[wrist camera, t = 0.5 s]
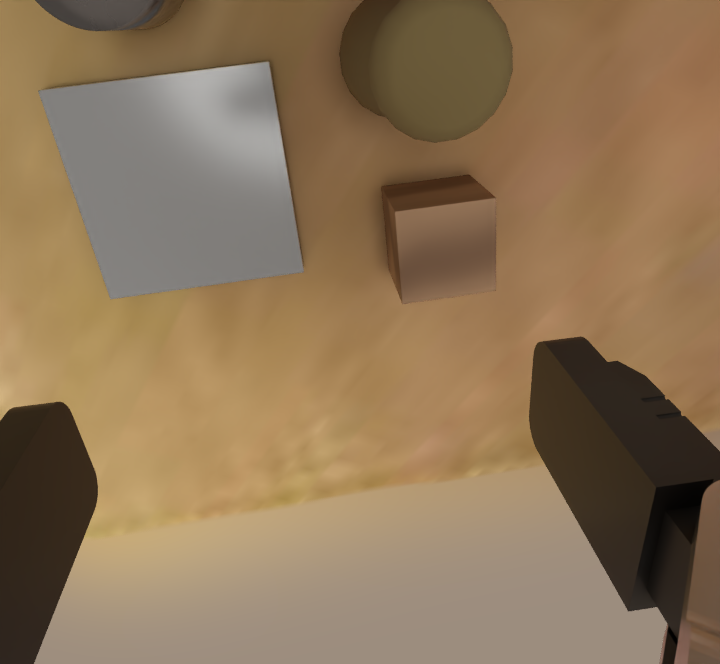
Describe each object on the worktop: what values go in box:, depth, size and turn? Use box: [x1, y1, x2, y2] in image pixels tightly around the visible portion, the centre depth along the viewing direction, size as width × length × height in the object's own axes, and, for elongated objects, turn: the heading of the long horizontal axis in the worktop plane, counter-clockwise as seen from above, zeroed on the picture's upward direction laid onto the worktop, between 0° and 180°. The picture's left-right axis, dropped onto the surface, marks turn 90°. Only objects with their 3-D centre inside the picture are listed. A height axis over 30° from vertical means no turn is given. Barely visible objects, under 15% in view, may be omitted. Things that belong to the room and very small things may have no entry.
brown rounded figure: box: [340, 0, 512, 143], centre depth 24 cm, size 6×6×11 cm
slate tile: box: [38, 61, 304, 299], centre depth 31 cm, size 11×11×1 cm
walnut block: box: [381, 175, 496, 304], centre depth 32 cm, size 5×5×5 cm
